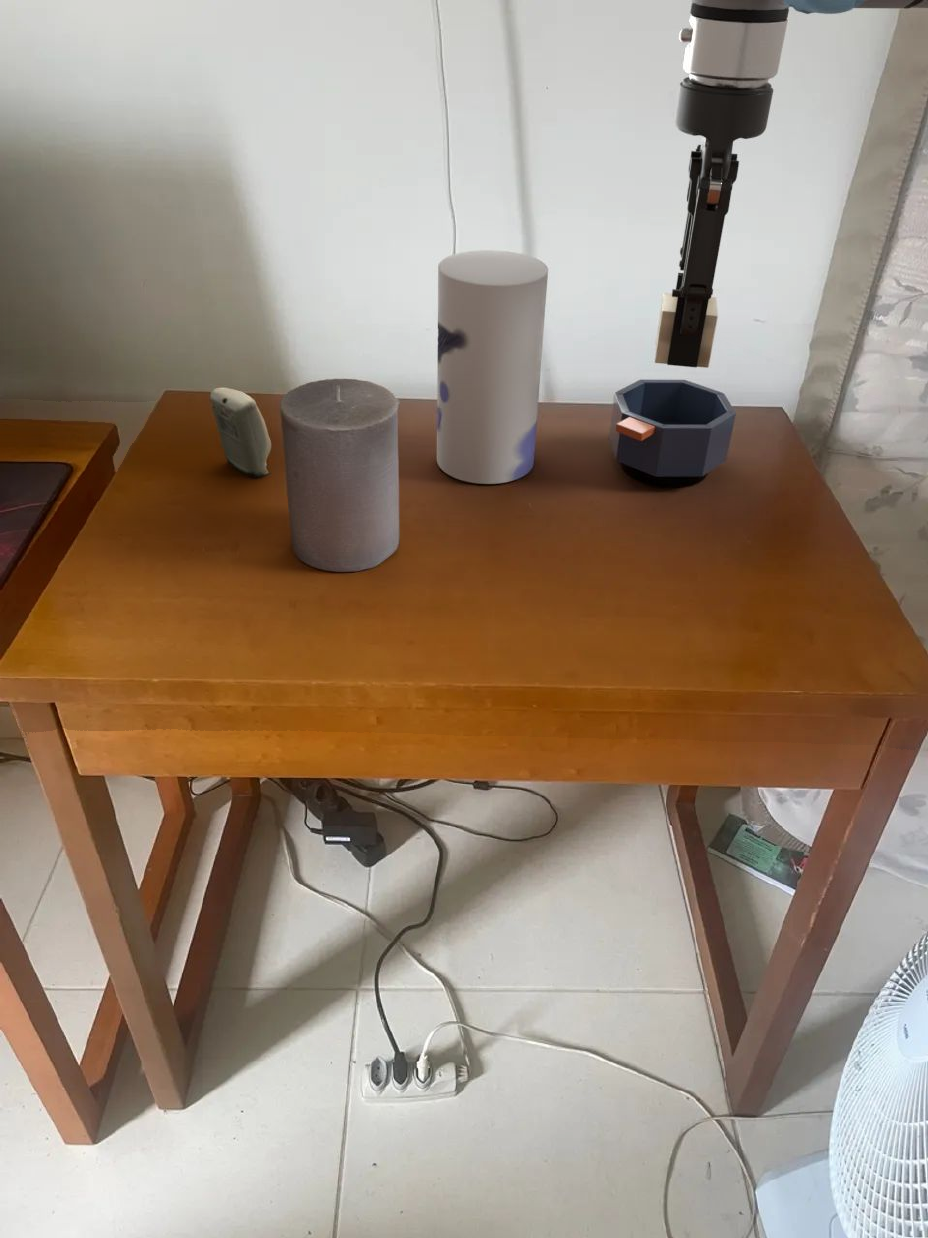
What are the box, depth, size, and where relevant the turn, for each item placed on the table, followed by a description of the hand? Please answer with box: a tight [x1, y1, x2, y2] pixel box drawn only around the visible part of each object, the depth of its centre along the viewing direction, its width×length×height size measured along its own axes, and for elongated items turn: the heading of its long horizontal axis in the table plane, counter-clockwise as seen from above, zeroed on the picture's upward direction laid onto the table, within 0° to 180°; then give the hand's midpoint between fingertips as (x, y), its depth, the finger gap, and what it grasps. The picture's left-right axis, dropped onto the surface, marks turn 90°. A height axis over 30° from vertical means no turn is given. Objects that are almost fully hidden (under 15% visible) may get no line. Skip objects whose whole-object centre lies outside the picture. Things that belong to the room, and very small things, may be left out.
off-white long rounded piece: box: [209, 387, 272, 479], centre depth 97 cm, size 6×5×8 cm
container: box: [436, 249, 549, 485], centre depth 95 cm, size 10×10×20 cm
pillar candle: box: [279, 378, 401, 573], centre depth 84 cm, size 10×10×15 cm
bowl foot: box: [619, 462, 709, 489], centre depth 101 cm, size 9×9×2 cm
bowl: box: [608, 379, 737, 477], centre depth 98 cm, size 13×11×5 cm
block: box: [654, 292, 719, 369], centre depth 93 cm, size 5×5×5 cm
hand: (681, 352), depth 94 cm, fingers closed on block, 5 cm apart
